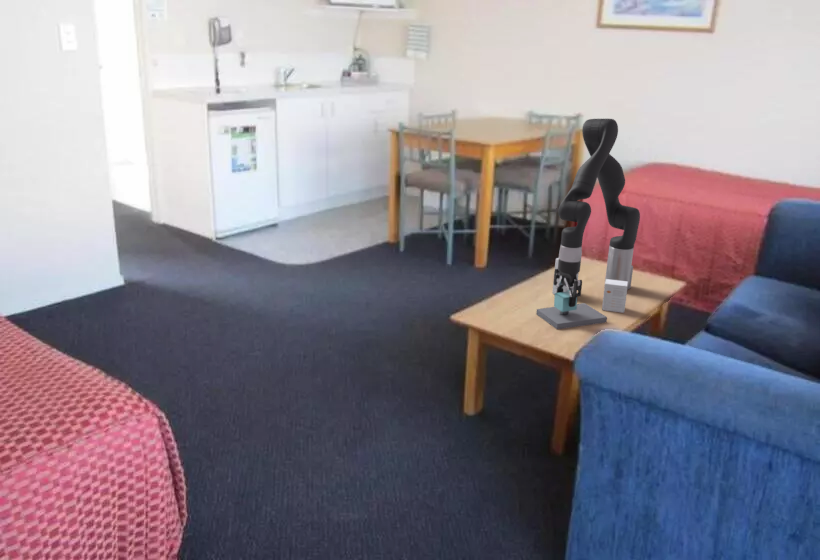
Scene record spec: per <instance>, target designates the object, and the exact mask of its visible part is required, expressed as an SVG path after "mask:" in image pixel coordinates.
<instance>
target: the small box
mask: <svg viewBox="0 0 820 560" xmlns="http://www.w3.org/2000/svg"><path fill="white" fill-rule="evenodd" d="M604 285H605V286H604V289H603V297H602V307H601V310H602V311H607V312H613V313H614V312H616V313H622V314H624V313H625V309H626V303H627V302H626V301H627V296H628V290H627V286H628V281H619V280H610V279H606V281H605V280H604Z"/></svg>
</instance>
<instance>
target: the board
mask: <svg viewBox="0 0 820 560" xmlns="http://www.w3.org/2000/svg"><path fill="white" fill-rule="evenodd" d="M535 315H537V316H538V317H539V318H541V319H542V320H544V321H545V322H546V323H548V325H551V326H552V327H553V328H555V329H556V330H562V329H568V328H569V329H571V328H576V327H583V326H589V325H598V324H605V322H606V323H607V320H608V316H606V315H605V314H603V313H601V312H599V311H598V310H596V309H595V308H593V307H592V306H590V305H588V304H587V303H585V302H583V303H577V309H576V310H571V311H569V314H568V315H562V314H560V310H559V309H557V308H556V307H554V306H551V307H550V306H549V307H544V308H536V312H535Z"/></svg>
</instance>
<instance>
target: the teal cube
mask: <svg viewBox="0 0 820 560" xmlns="http://www.w3.org/2000/svg"><path fill="white" fill-rule="evenodd" d="M569 297H570V294H569V291H566V292H559V293H555V294H554V297H553V298H554V301H553V307H556V308H557V309H559V310H560V311H562V312H565V311H571V310H576V309H577V304H578V297H576V304H575V306H574V307H570V306H569Z"/></svg>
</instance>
